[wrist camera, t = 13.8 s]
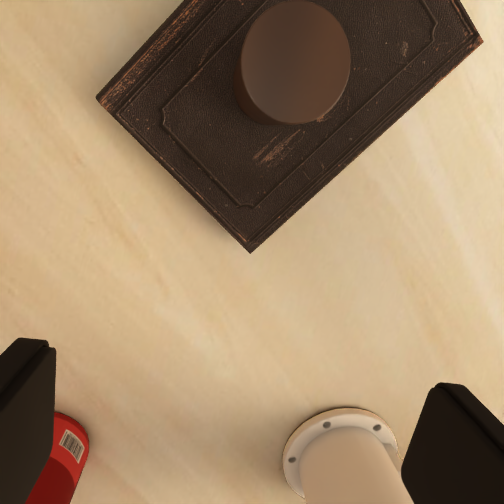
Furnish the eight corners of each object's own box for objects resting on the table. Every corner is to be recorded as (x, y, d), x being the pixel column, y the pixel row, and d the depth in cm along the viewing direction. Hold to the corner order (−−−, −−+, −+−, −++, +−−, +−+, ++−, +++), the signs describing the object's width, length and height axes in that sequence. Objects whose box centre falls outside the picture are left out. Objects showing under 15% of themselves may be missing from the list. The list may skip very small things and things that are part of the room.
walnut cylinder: (318, 47, 25) (363, 12, 18) (302, 131, 27) (337, 132, 19) (238, 31, 25) (250, -13, 17) (227, 118, 26) (233, 114, 19)
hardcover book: (463, 48, 28) (484, 41, 26) (247, 245, 32) (250, 254, 30) (339, -160, 24) (352, -189, 22) (101, 98, 27) (91, 95, 25)
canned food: (15, 399, 34) (-71, 516, 24) (101, 419, 36) (55, 536, 26) (-1, 460, 36) (-86, 592, 26) (81, 476, 38) (31, 606, 28)
